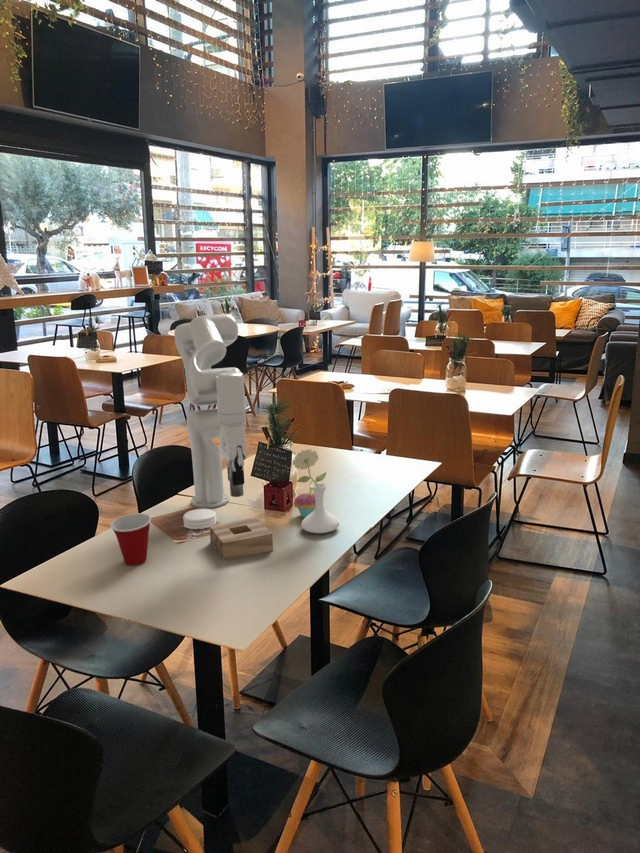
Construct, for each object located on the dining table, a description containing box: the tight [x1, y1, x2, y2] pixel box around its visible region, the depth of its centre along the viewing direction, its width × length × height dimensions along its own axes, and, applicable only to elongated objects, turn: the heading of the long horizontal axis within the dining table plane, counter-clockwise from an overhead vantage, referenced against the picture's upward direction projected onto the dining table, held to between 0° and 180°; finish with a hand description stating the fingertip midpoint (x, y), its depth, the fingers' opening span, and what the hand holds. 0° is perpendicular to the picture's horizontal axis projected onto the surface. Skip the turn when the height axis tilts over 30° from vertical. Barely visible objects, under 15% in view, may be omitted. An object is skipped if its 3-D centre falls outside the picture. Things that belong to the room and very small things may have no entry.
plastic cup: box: [110, 512, 152, 566], centre depth 189 cm, size 11×11×12 cm
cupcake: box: [293, 480, 316, 519], centre depth 218 cm, size 9×8×12 cm
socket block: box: [209, 517, 274, 561], centre depth 198 cm, size 14×14×5 cm
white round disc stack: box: [182, 508, 217, 531], centre depth 216 cm, size 10×10×4 cm
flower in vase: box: [292, 448, 340, 534], centre depth 205 cm, size 13×11×25 cm
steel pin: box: [228, 458, 245, 498], centre depth 193 cm, size 4×4×12 cm
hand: (236, 481), depth 194 cm, fingers closed on steel pin, 3 cm apart
